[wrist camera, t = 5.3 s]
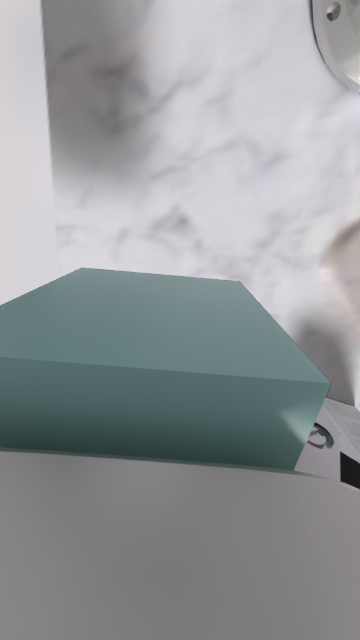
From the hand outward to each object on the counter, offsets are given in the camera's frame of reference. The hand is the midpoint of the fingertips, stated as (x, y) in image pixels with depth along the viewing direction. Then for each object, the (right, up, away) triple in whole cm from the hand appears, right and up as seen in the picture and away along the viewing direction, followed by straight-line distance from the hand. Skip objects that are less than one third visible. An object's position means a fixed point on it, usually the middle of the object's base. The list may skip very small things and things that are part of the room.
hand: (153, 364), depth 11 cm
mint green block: (0, +1, +2) cm, 2 cm away
